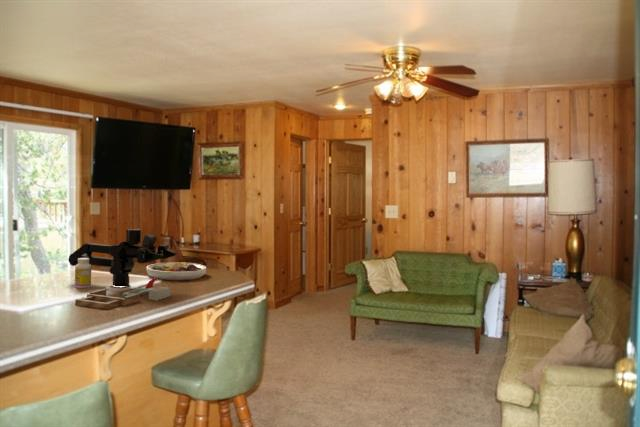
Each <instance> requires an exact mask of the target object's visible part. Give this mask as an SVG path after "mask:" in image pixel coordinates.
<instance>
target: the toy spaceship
mask: <svg viewBox="0 0 640 427" xmlns="http://www.w3.org/2000/svg"><path fill="white" fill-rule="evenodd" d="M157 280H161V279H160V278H151V279H150V280H149V281H148V282H147V283H146V284H142V285H140V286H138V287H136V288H135V289H132V290H128V291H125V292H122V293H121V294H122V297H125V296H129V295H133V294H136V293H138V294H140V296H143V295H146V294H149V290H152V289H155V288H159V287H165V286H164V285H161V286H154V284H155V282H156V281H157Z"/></svg>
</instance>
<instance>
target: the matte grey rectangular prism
mask: <svg viewBox="0 0 640 427" xmlns="http://www.w3.org/2000/svg"><path fill="white" fill-rule="evenodd" d="M158 287H159V288H155V289H152V290H149V293H148V300H150V299H151V300H152V301H160V300H162V298H163V299H165V298H169V297H170V294H171V293H170V291H171V287H170V286H164V287H160V286H158ZM159 299H160V300H159ZM151 300H150V301H151Z"/></svg>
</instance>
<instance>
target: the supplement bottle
mask: <svg viewBox="0 0 640 427" xmlns="http://www.w3.org/2000/svg"><path fill="white" fill-rule="evenodd" d="M74 267H75V268H74V287H75V288H78V289H86V288H85V287H88V288H90V287H91V286H92V265H90V264H89V258H78V264H77V265H76V266H74Z"/></svg>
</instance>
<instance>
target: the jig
mask: <svg viewBox="0 0 640 427" xmlns="http://www.w3.org/2000/svg"><path fill="white" fill-rule="evenodd" d="M107 292H108V289H106V288H103V289H102V288H101V289H99V290H95V291H93V290H92V291H89V293H86V297H82V298H76V299H74V300H75V303H74V304H75V306H82V307H89V308H96V309H102V310H103V309H104V310H109V309H112V308H115V307H118V306H122V305H123V306H124V305H125V306H128V305H131V304H135V303H137V302H140V300H141V298H140V297H141V295H140V294H138V293H136V294H133V295H129V296H123V297H116V296H109V295H108V294H107ZM134 302H135V303H134ZM127 304H128V305H127ZM125 306H124V307H125Z"/></svg>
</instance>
